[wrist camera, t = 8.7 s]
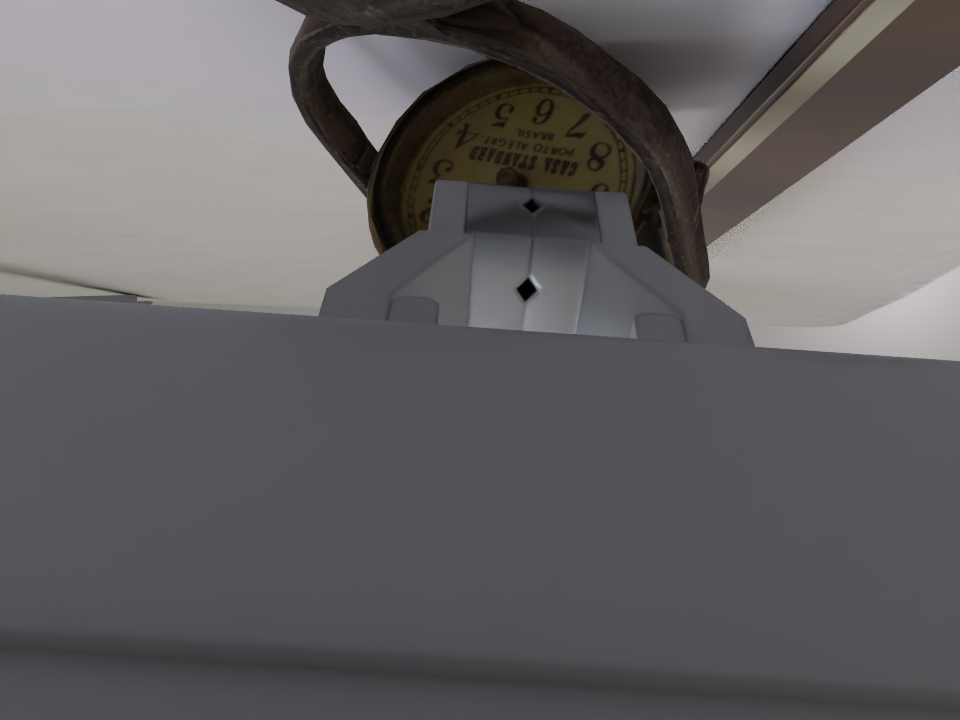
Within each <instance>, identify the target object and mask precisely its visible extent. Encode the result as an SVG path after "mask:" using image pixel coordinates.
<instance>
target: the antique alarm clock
mask: <svg viewBox="0 0 960 720" xmlns="http://www.w3.org/2000/svg"><path fill="white" fill-rule="evenodd" d="M276 1H278V2H280V3H282V4H284V5H286V6H288V7H290V8H292V9H294V10H296V11H298V12H300V13H302V14H304V15H306V17H305V19H304V22H303V24H302V26H301V28H300V30H299V32H298V34H297V36H296V39H295V41H294V43H293V45H292V47H291V49H290V56H289V67H288V68H289V75H290V82H291V89H292V96H293V98H294V100H295V102H296V104H297V106H298V108H299V110H300V112H301V114H302V116H303V118H304V120H305V122H306V124H307V125H308V127H309V128H310V129H311V131H312V132H313V133H314V134H315V136H316V137H317V138H318V139H319V141H320V142H321V143H322V145H323V146H324V147H325V148H326V150H327V151H328V152H329V153H330V154H331V156H332V157H333V158H334V159H335V161H336V162H337V163H338V164H339V165H340V167H341V168H342V169H343V170H344V171H345V173H346V174H347V175H348V176H349V178H350V179H351V180H352V181H353V182H354V184H355V185H356V186H357V187H358V188H359V190H360V191H361V192H362V193H363V194H364V195H365V197H366V198H367V209H368V220H369V229H370V232H371V236H372V240H373V243H374V246H375V248H376V249H377V251H378V253H379V255H381V254H382V253H384V252H386V251H387V250H389V249H390V248H392V247H394V246H395V245H397V244H398V243H400V242H402V241H403V240H405V239H406V238H408V237H410V236H411V235H413V234H414V233H416V232H418V231H419V230H425V231H428V226H429V220H430V213H431V206H432V200H433V193H434V186H435V182H436V181H437V180H457V181H467V182H468V190H469V182H475V183H486V184H497V185H508V186H519V187H530V188H547V189H568V190H589V191H594V192H624V193H625V194H627V197H628V202H629V207H630V211H631V216H632V221H633V226H634V230H635V235H636V240H637V244H638V246H646V247H648V248H649V249H651V250H652V251H653V252H655V253H656V254H657V255H659V256H660V257H662V258H663V259H664V260H666V261H667V262H668V263H670V264H671V265H673V266H674V267H675V268H677V269H678V270H680V271H681V272H682V273H684V274H685V275H686V276H688V277H689V278H691V279H692V280H693V281H695V282H696V283H697V284H699V285H700V286H702V287H703V288H704V289H705V288H706V285H707V283H708V281H709V278H710V273H709V261H708V254H707V247H706V243H705V236H704V229H703V222H702V215H701V206H702V202H703V197H704V191H705V188H706V185H707V182H708V179H709V176H710V170H709V167H708V166H707V165H706V164H704V163H703V162H701V161H699V160H693V158H692V155H691V152H690V150H689V148H688V146H687V144H686V142H685V139H684V137H683V135H682V133H681V132H680V130H679V128H678V126H677V124H676V123H675V121H674V119H673V117H672V115H671V113H670V112H669V110H668V108H667V106H666V105H665V104H664V103H663V102H662V101H661V100H660V99H659V98H658V97H657V96H656V95H655V94H654V93H653V91H652V90H651V89H650V88H649V87H648V86H647V85H646V84H645V83H644V82H643V81H642V80H641V79H640V78H639V77H637V76H636V75H635V74H633V73H632V72H631V71H630V70H628V69H627V68H626V67H624V66H623V65H622V64H620V63H619V62H618V61H617V60H615V59H614V58H613V57H611V56H610V55H609V54H607V53H606V52H605V51H604V50H602V49H601V48H600V47H598V46H597V45H596V44H595V43H593V42H592V41H591V40H589V39H588V38H587V37H586V36H584V35H583V34H582V33H580V32H579V31H578V30H576V29H575V28H573V27H571V26H569V25H568V24H566V23H564V22H562V21H561V20H559V19H557V18H556V17H554V16H552V15H550V14H549V13H547V12H545V11H543V10H541V9H538V8H536V7H533V6H530V5H528V4H525V3H523V2H520V1H518V0H276ZM371 34H378V35H387V36H396V37H404V38H413V39H421V40H428V41H433V42H437V43H442V44H447V45H452V46H456V47H461V48H466V49H469V50H472V51H474V52H477V53H480V54H482V55H485V56H488V57H491V58H488V59H485V60H482V61H479V62H476V63H473V64H470V65H468V66H466V67H465V68H463V69H461V70H460V71H458V72H456V73H455V74H453V75H451V76H450V77H448V78H446V79H445V80H443V81H441V82H439V83H438V84H436V85H434V86H433V87H431V88H429V89H428V90H426V91H424V92H423V93H422V94H421V95H420V96H419V97H418V98H417V99H416V100H415V101H414V103H413V104H412V105H411V106H410V107H409V108H408V109H407V110H406V111H405V112H404V114H403V115H402V116H401V117H400V118H399V119H398V120H397V121H396V123H395V125H394V126H393V128H392V130H391V131H390V133H389V135H388V137H387V138H386V140H385V142H384V143H383V145H382V147H381V149H380V150H379V152H377V150H376V149H375V148H374V147H373V145H372V144H371V143H370V141H369V140H368V138H367V137H366V135H365V134H364V132H363V130H362V129H361V127H360V126H359V124H358V122H357V121H356V120H355V118H354V117H353V116H352V115H351V114H350V113H349V111H348V110H347V109H346V108H345V107H344V105H343V104H342V103H341V102H340V100H339V99H338V97H337V95H336V93H335V92H334V90H333V88H332V87H331V85H330V83H329V81H328V80H327V78H326V75H325V71H324V67H323V61H324V55H325V47H326V46H327V45H329V44H331V43H333V42H335V41H338V40H341V39H344V38H347V37H354V36H362V35H371Z"/></svg>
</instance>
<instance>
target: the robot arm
mask: <svg viewBox="0 0 960 720" xmlns="http://www.w3.org/2000/svg"><path fill="white" fill-rule="evenodd" d="M0 720H960V361H949V360H936V359H922V358H907V357H892V356H879V355H864V354H850V353H835V352H821V351H807V350H792V349H778V348H764V347H755V345H754V342H753V339H752V336H751V333H750V330H749V327H748V324H747V322H746V319H745V318H744V317H743V316H741V315H740V314H739V313H737V312H736V311H735V310H733V309H732V308H730V307H729V306H728V305H726V304H725V303H724V302H722V301H721V300H719V299H718V298H717V297H715V296H714V295H713V294H711V293H710V292H708V291H707V290H706V289H704V288H703V287H702V286H700V285H699V284H697V283H696V282H695V281H693V280H692V279H691V278H689V277H688V276H686V275H685V274H684V273H682V272H681V271H680V270H678V269H677V268H675V267H674V266H673V265H671V264H670V263H668V262H667V261H666V260H664V259H663V258H662V257H660V256H659V255H657V254H656V253H655V252H653V251H652V250H651V249H649V248H648V247H646V246H638V244H637V240H636V235H635V230H634V226H633V221H632V216H631V211H630V207H629V202H628V197H627V194H625V193H624V192H594V191H589V190H568V189H547V188H530V187H519V186H508V185H497V184H486V183H475V182H469V190H468V182H467V181H457V180H437V181H436V182H435V186H434V193H433V200H432V206H431V213H430V220H429V226H428V231H425V230H419V231H418V232H416V233H414V234H413V235H411V236H410V237H408V238H406V239H405V240H403V241H402V242H400V243H398V244H397V245H395V246H394V247H392V248H390V249H389V250H387V251H386V252H384V253H382V254H381V255H379V256H378V257H376V258H374V259H373V260H371V261H370V262H368V263H366V264H365V265H363V266H362V267H360V268H358V269H357V270H355V271H354V272H352V273H350V274H349V275H347V276H346V277H344V278H342V279H341V280H339V281H338V282H336V283H334V284H333V285H331V286H330V287H328V288H327V289H326V292H325V296H324V299H323V302H322V306H321V309H320V312H319V316H308V315H294V314H280V313H264V312H252V311H236V310H223V309H208V308H194V307H193V308H192V307H179V306H165V305H164V306H163V305H150V304H136V303H121V302H107V301H92V300H78V299H63V298H49V297H35V296H20V295H6V294H0Z"/></svg>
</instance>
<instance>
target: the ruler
mask: <svg viewBox="0 0 960 720" xmlns="http://www.w3.org/2000/svg"><path fill="white" fill-rule="evenodd" d="M958 66H960V0H834V1H833V3H832V4H831V5H830V6H829V7H828V8H827V9H826V10H825V12H824V13H823V14H822V15H821V16H820V17H819V18H818V19H817V21H816V22H815V23H814V24H813V25H812V26H811V27H810V28H809V30H808V31H807V32H806V33H805V34H804V35H803V36H802V37H801V39H800V40H799V41H798V42H797V43H796V44H795V45H794V46H793V48H792V49H791V50H790V51H789V52H788V53H787V54H786V55H785V57H784V58H783V59H782V60H781V61H780V62H779V63H778V64H777V65H776V67H775V68H774V69H773V70H772V71H771V72H770V73H769V74H768V76H767V77H766V78H765V79H764V80H763V81H762V82H761V83H760V85H759V86H758V87H757V88H756V89H755V90H754V91H753V92H752V94H751V95H750V96H749V97H748V98H747V99H746V100H745V101H744V103H743V104H742V105H741V106H740V107H739V108H738V109H737V110H736V112H735V113H734V114H733V115H732V116H731V117H730V118H729V119H728V121H727V122H726V123H725V124H724V125H723V126H722V127H721V128H720V130H719V131H718V132H717V133H716V134H715V135H714V136H713V137H712V138H711V140H710V141H709V142H708V143H707V144H706V145H705V146H704V147H703V149H702V150H701V151H700V152H699V153H698V154H697V155H696V156H695V158H694V159H693V160H699V161H701V162H703V163H704V164H706V165H707V166H708V167H709V170H710V176H709V179H708V182H707V185H706V188H705V191H704V197H703V202H702V206H701V215H702V222H703V229H704V236H705V243H706V246H708V245H709V244H710V243H712V242H713V241H715V240H716V239H717V238H719V237H720V236H722V235H723V234H724V233H726V232H727V231H729V230H730V229H731V228H733V227H734V226H736V225H737V224H738V223H740V222H741V221H743V220H744V219H745V218H747V217H748V216H750V215H751V214H752V213H754V212H755V211H757V210H758V209H759V208H761V207H762V206H764V205H765V204H766V203H768V202H769V201H771V200H772V199H773V198H775V197H776V196H778V195H779V194H780V193H782V192H783V191H785V190H786V189H787V188H789V187H790V186H792V185H793V184H794V183H796V182H797V181H799V180H800V179H801V178H803V177H804V176H806V175H807V174H808V173H810V172H811V171H813V170H814V169H815V168H817V167H818V166H820V165H821V164H822V163H824V162H825V161H827V160H828V159H829V158H831V157H832V156H834V155H835V154H837V153H838V152H839V151H841V150H842V149H844V148H845V147H846V146H848V145H849V144H851V143H852V142H853V141H855V140H856V139H858V138H859V137H860V136H862V135H863V134H865V133H866V132H867V131H869V130H870V129H872V128H873V127H874V126H876V125H877V124H879V123H880V122H881V121H883V120H884V119H886V118H887V117H888V116H890V115H891V114H893V113H894V112H895V111H897V110H898V109H900V108H901V107H902V106H904V105H905V104H907V103H908V102H909V101H911V100H912V99H914V98H915V97H916V96H918V95H919V94H921V93H922V92H923V91H925V90H926V89H928V88H929V87H930V86H932V85H933V84H935V83H936V82H937V81H939V80H940V79H942V78H943V77H944V76H946V75H947V74H949V73H950V72H951V71H953V70H954V69H956V68H957V67H958Z"/></svg>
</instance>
